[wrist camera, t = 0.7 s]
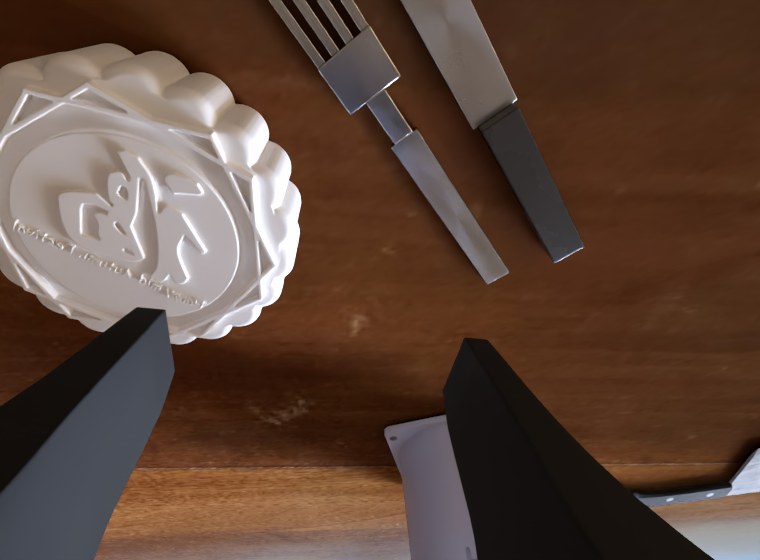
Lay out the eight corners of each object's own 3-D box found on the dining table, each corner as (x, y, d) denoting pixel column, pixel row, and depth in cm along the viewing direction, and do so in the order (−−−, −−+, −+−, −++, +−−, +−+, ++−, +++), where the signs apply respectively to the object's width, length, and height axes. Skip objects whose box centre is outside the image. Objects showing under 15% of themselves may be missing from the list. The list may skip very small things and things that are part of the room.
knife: (580, 235, 20) (589, 245, 20) (543, 256, 21) (550, 266, 20) (389, -170, 12) (391, -180, 11) (335, -115, 12) (334, -122, 12)
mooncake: (353, 165, 18) (355, 200, 15) (235, 336, 23) (218, 387, 20) (39, -44, 13) (-51, -54, 10) (-18, 232, 18) (-87, 278, 15)
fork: (516, 262, 21) (519, 266, 21) (476, 285, 22) (478, 290, 22) (313, -65, 13) (312, -67, 13) (259, -12, 14) (257, -12, 13)
